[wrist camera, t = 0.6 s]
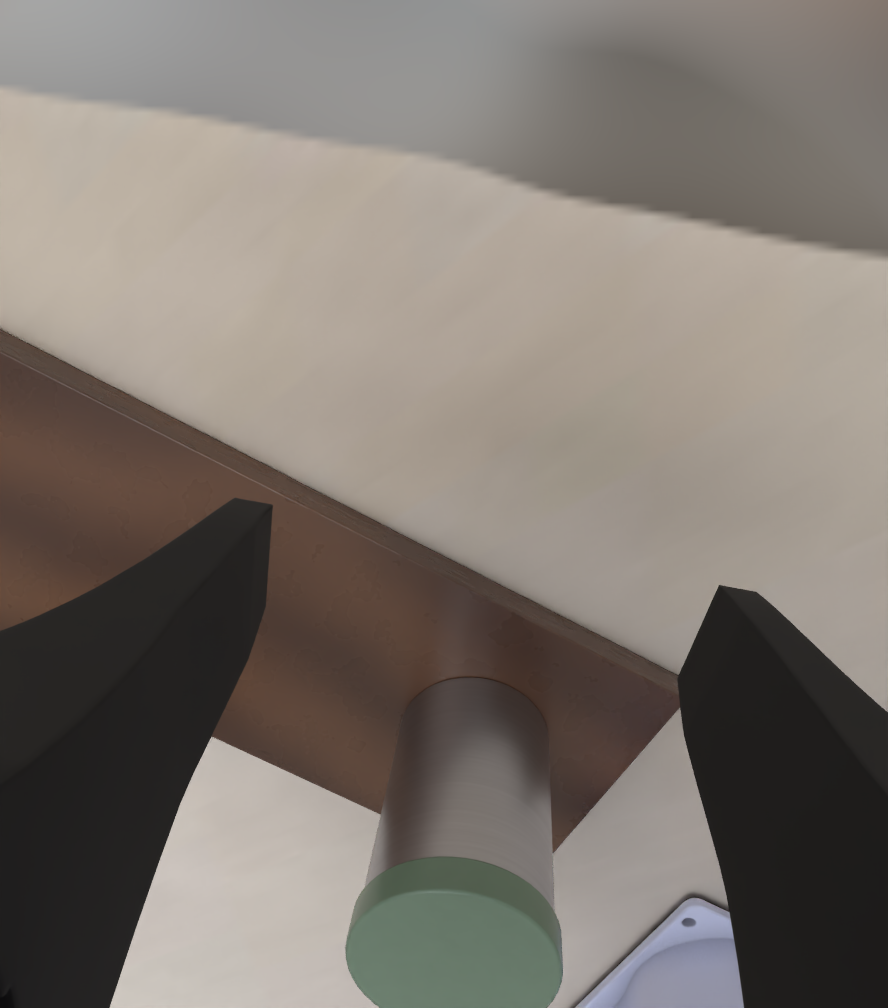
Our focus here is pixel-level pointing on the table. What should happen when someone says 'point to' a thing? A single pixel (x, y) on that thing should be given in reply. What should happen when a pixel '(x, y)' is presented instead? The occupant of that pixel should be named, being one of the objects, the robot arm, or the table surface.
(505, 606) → the board
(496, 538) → the table surface
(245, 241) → the table surface
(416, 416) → the table surface
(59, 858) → the robot arm
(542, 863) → the tin
